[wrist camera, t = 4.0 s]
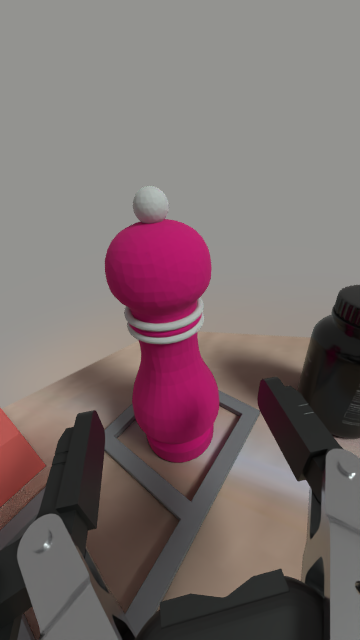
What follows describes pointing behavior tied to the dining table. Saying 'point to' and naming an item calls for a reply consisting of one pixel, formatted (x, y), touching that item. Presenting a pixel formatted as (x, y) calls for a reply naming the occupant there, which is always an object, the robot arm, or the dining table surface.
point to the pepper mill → (166, 326)
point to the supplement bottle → (335, 367)
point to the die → (15, 460)
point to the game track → (166, 494)
